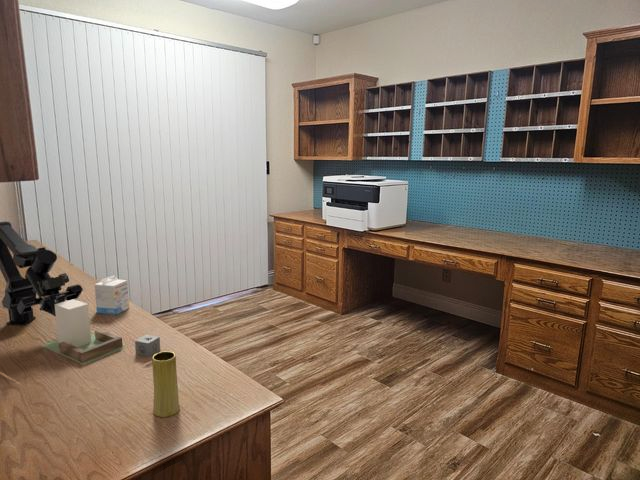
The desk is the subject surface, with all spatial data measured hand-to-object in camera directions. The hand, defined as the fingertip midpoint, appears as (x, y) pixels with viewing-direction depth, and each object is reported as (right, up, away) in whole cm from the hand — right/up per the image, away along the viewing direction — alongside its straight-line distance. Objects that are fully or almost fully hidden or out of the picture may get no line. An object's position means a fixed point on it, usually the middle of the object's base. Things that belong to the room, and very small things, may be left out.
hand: (63, 319), depth 140 cm
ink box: (+3, -2, +28) cm, 28 cm away
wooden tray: (+12, -8, -5) cm, 15 cm away
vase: (+46, -16, -35) cm, 60 cm away
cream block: (+5, -7, -1) cm, 9 cm away
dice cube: (+30, -10, -6) cm, 32 cm away
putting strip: (+9, -8, -4) cm, 13 cm away
